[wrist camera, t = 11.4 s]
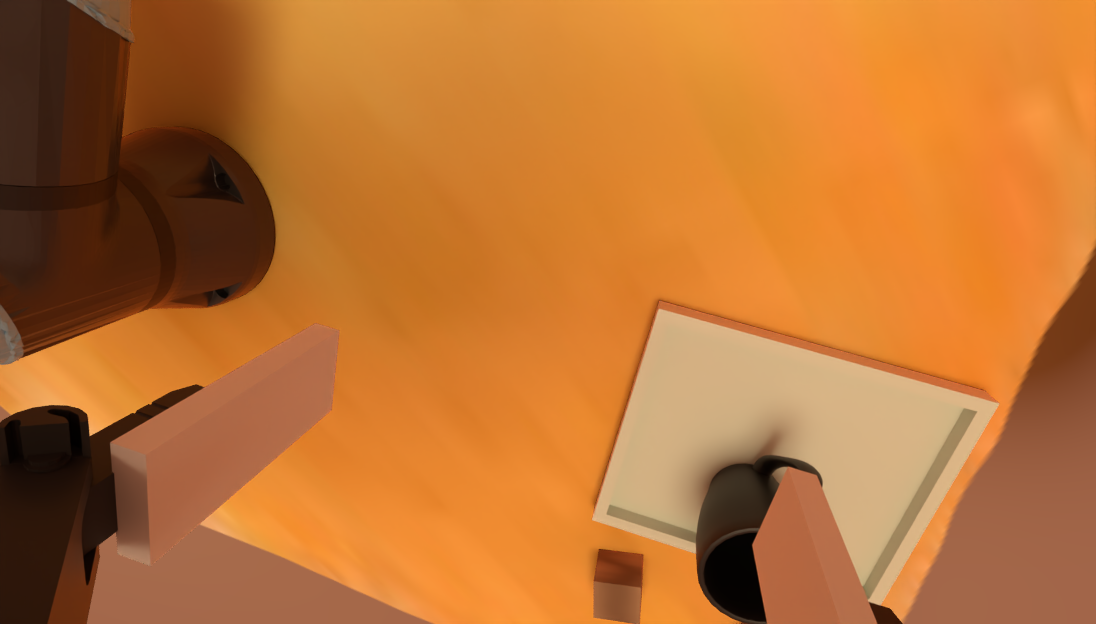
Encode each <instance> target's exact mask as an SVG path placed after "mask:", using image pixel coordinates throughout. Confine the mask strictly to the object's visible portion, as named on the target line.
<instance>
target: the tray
mask: <svg viewBox="0 0 1096 624" xmlns="http://www.w3.org/2000/svg"><path fill="white" fill-rule="evenodd" d="M998 405H999V403H998V402H997V401H996V400H995V399H994V398H993V397H991V396H990V395H989V394H988V393H987V392H986V391H984V390H980V389H977V388H973V387H970V386H966V385H962V384H959V383H955V382H952V381H948V380H944V379H941V378H937V377H934V376H930V375H926V374H923V373H919V372H916V371H912V370H908V369H905V368H901V367H898V366H894V365H890V364H887V363H883V362H880V361H876V360H872V359H869V358H865V357H862V356H858V355H854V354H851V353H847V352H844V351H840V350H836V349H833V348H829V347H826V346H822V345H818V344H815V343H811V342H807V341H804V340H800V339H797V338H793V337H789V336H786V335H782V334H779V333H775V332H771V331H768V330H764V329H761V328H757V327H753V326H750V325H746V324H743V323H739V322H735V321H732V320H728V319H725V318H721V317H717V316H714V315H710V314H707V313H703V312H699V311H696V310H692V309H689V308H685V307H681V306H678V305H674V304H671V303H667V302H663V301H660V300H659V303H658V306H657V309H656V312H655V316H654V319H653V322H652V325H651V328H650V331H649V335H648V338H647V341H646V344H645V347H644V351H643V354H642V357H641V360H640V363H639V366H638V370H637V373H636V376H635V379H634V382H633V386H632V389H631V392H630V395H629V398H628V401H627V405H626V408H625V411H624V414H623V417H622V421H621V424H620V427H619V430H618V433H617V436H616V440H615V443H614V446H613V449H612V452H611V456H610V459H609V462H608V465H607V468H606V471H605V475H604V478H603V481H602V484H601V487H600V491H599V494H598V497H597V500H596V503H595V507H594V512H593V517H592V520H594V521H597V522H600V523H603V524H606V525H609V526H612V527H615V528H618V529H622V530H625V531H628V532H631V533H634V534H637V535H640V536H643V537H646V538H649V539H652V540H655V541H658V542H661V543H664V544H668V545H671V546H674V547H677V548H680V549H683V550H686V551H689V552H692V553H695V554H696V533H697V526H698V519H699V515H700V510H701V507H702V504H703V501H704V499H705V496H706V494H707V492H708V490H709V486H710V483H711V481H712V479H713V477H714V476H715V475H716V474H717V473H718V472H719V471H720V470H722V469H723V468H725V467H728V466H730V465H734V464H743V463H745V464H752V465H754V463H755V462H756V461H757V460H758V459H759V458H760V457H762V456H765V455H777V456H783V457H789V458H794V459H798V460H801V461H804V462H806V463H808V464H810V465H812V466H813V467H814V468H815V469H816V470H817V471H818V472H819V473H820V475H821V477H822V480H823V486H822V489H823V492H824V494H825V497H826V499H827V501H828V504H829V506H830V509H831V511H832V514H833V516H834V519H835V521H836V524H837V526H838V528H839V531H840V533H841V536H842V538H843V541H844V543H845V546H846V548H847V551H848V553H849V555H850V558H851V560H852V563H853V565H854V568H855V570H856V573H857V575H858V577H859V580H860V582H861V585H862V587H863V590H864V592H865V595H866V597H867V600H868V602H871V603H874V604H877V605H881V604H882V602H883V600H884V599H885V597H886V595H887V594H888V592H889V590H890V589H891V587H892V585H893V583H894V582H895V580H896V578H897V577H898V575H899V573H900V572H901V570H902V568H903V567H904V565H905V563H906V561H907V560H908V558H909V556H910V555H911V553H912V551H913V550H914V548H915V546H916V544H917V543H918V541H919V539H920V538H921V536H922V534H923V533H924V531H925V529H926V528H927V526H928V524H929V522H930V521H931V519H932V517H933V516H934V514H935V512H936V511H937V509H938V507H939V505H940V504H941V502H942V500H943V499H944V497H945V495H946V494H947V492H948V490H949V489H950V487H951V485H952V483H953V482H954V480H955V478H956V477H957V475H958V473H959V472H960V470H961V468H962V466H963V465H964V463H965V461H966V460H967V458H968V456H969V455H970V453H971V451H972V450H973V448H974V446H975V444H976V443H977V441H978V439H979V438H980V436H981V434H982V433H983V431H984V429H985V427H986V426H987V424H988V422H989V421H990V419H991V417H992V416H993V414H994V412H995V411H996V409H997V407H998ZM787 468H788V467H781V468H779V469H777V470H776V471H775V472H774V473H773V474H772V475H773V476H774V478H775V479H776V481H777V482H778V483H779V484H780V483H781V481H782V479H783V476H784V474H785V472H786V470H787Z"/></svg>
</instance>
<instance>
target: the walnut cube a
mask: <svg viewBox="0 0 1096 624" xmlns="http://www.w3.org/2000/svg"><path fill="white" fill-rule="evenodd" d="M642 573H643V555H642V554H634V553H627V552H619V551H611V550H603V549H599V553H598V559H597V565H596V571H595V577H594V618H600V619H607V620H613V621H620V622H627V623H633V624H640V611H641V595H642Z"/></svg>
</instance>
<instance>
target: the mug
mask: <svg viewBox="0 0 1096 624" xmlns="http://www.w3.org/2000/svg"><path fill="white" fill-rule="evenodd" d="M781 467H791V468H794V469H798V470H801V471H804V472H808V473H811V474H814V475H817V477H818V479H819V482H820V484H821V487H822V486H823V480H822V477H821V475H820V473H819V472H818V471H817V470H816V469H815V468H814V467H813V466H812V465H810V464H808V463H806V462H804V461H801V460H798V459H794V458H789V457H783V456H777V455H765V456H762V457H760V458H759V459H758V460H757V461H756V462H755V463H754V465H752V464H745V463H743V464H734V465H730V466H728V467H725V468H723V469H722V470H720V471H719V472H718V473H717V474H716V475H715V476H714V477H713V479H712V481H711V483H710V486H709V490H708V492H707V494H706V496H705V499H704V501H703V504H702V507H701V510H700V515H699V519H698V526H697V533H696V560H697V574H698V581H699V584H700V586H701V589H702V591H703V593H704V595H705V596H706V597H707V599H708V600H709V601H710V603H711V604H712V605H713V606H714V607H716V608H717V609H718V610H719V611H720V612H722V613H723V614H725V615H727V616H729V617H730V618H732V619H735V620H738V621H740V622H743V623H747V624H767V620H766V615H765V609H764V604H763V599H762V594H761V588H760V583H759V578H758V573H757V567H756V562H755V557H754V552H753V546H752V544H753V542H754V540H755V538H756V536H757V533H758V531H759V529H760V527H761V525H762V522H763V520H764V518H765V516H766V514H767V512H768V509H769V507H770V505H771V503H772V501H773V498H774V496H775V494H776V492H777V490H778V487H779V485H780V484H779V483H778V482H777V481H776V479H775V478H774V476H773V475H772V474H773V473H774V472H775V471H776V470H777V469H779V468H781Z"/></svg>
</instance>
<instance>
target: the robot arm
mask: <svg viewBox="0 0 1096 624" xmlns="http://www.w3.org/2000/svg"><path fill="white" fill-rule="evenodd" d="M134 39H135V38H134V34H133V32H132V31H131V0H0V364H1V365H4V364H10V363H12V362H14V361H16V360H19V359H20V358H23V357H25V356H28V355H30V354H33V353H36V352H38V351H41V350H43V349H46V348H48V347H51V346H54V345H56V344H59V343H61V342H64V341H67V340H69V339H72V338H74V337H77V336H79V335H82V334H85V333H87V332H90V331H92V330H95V329H98V328H100V327H103V326H105V325H108V324H110V323H113V322H116V321H118V320H121V319H123V318H126V317H129V316H131V315H133V314H136V313H139V312H142V311H144V310H147V309H158V308H207V307H213V306H217V305H221V304H224V303H226V302H228V301H231V300H233V299H236V298H238V297H240V296H243V295H244V294H246V293H248V292H249V291H251V290H252V289H253V288H254V287H255V286H256V285H257V284H258V283H259V282H260V281H261V280H262V278H263V277H264V275H265V274H266V272H267V270H268V267H269V265H270V262H271V259H272V255H273V250H274V240H275V233H274V222H273V217H272V212H271V208H270V205H269V202H268V199H267V197H266V194H265V192H264V190H263V188H262V186H261V184H260V182H259V180H258V179H257V177H256V176H255V174H254V173H253V171H252V170H251V168H250V167H249V166H248V165H247V163H246V162H245V161H244V160H243V159H242V158H241V157H240V156H239V155H238V154H237V153H236V152H235V151H234V150H233V149H232V148H230V147H229V146H228V145H226V144H225V143H223V142H222V141H220V140H219V139H217V138H215V137H214V136H211V135H209V134H207V133H205V132H202V131H199V130H196V129H191V128H185V127H159V128H148V129H144V130H140V131H137V132H134V133H131V134H129V135H127V136H125V137H123V138H122V128H123V118H124V107H125V97H126V86H127V76H128V66H129V55H130V45H131V43H134ZM338 339H339V330H336V329H333V328H330V327H326V326H323V325H320V324H317V323H315V324H313V325H312V326H310V327H308V328H306V329H305V330H303V331H301V332H300V333H298V334H296V335H294V336H293V337H291V338H289V339H287V340H286V341H284V342H282V343H281V344H279V345H277V346H275V347H274V348H272V349H270V350H269V351H267V352H265V353H263V354H262V355H260V356H258V357H256V358H255V359H253V360H251V361H250V362H248V363H246V364H244V365H243V366H241V367H239V368H237V369H236V370H234V371H232V372H231V373H229V374H227V375H225V376H224V377H222V378H220V379H219V380H217V381H215V382H213V383H212V384H210V385H208V386H206V387H202V386H199V385H193V386H189V387H186V388H182V389H179V390H175V391H172V392H170V393H168V394H166V395H164V396H162V397H161V398H159V399H157V400H155V401H153V402H152V404H151V405H149V404H148V405H146V406H144V407H142V408H141V409H139V410H137V411H136V413H135V414H134V413H132V414H130V415H128V416H126V417H124V418H122V419H121V420H119V421H117V422H115V423H113V424H112V425H110V426H108V427H106V428H104V429H102V430H101V431H99V432H97V433H95V434H93V435H92V436H90V437H89V425H88V417H87V414H86V413H85V412H83V411H82V410H81V409H79V408H75V407H70V406H60V405H49V406H42V407H35V408H31V409H27V410H24V411H21V412H17V413H15V414H13V415H11V416H9V417H8V418H6V419H4V420H2V421H1V422H0V624H87V618H88V613H89V609H90V603H91V598H92V594H93V588H94V583H95V578H96V573H97V568H98V563H99V558H100V555H99V544H101V543H102V542H103V541H104V540H106V539H107V538H109V537H110V536H111V535H113V534H114V533H115V532H116V536H117V550H118V554H119V555H122V556H124V557H127V558H130V559H133V560H135V561H138V562H141V563H143V564H146V565H149V566H151V565H153V564H154V563H155V562H156V561H157V560H158V559H160V558H161V557H162V556H163V555H164V554H165V553H166V552H168V551H169V550H170V549H171V548H172V547H173V546H175V545H176V544H177V543H178V542H179V541H180V540H182V539H183V538H184V537H185V536H186V535H187V534H189V533H190V532H191V531H192V530H193V529H194V528H195V527H197V526H198V525H199V524H200V523H201V522H202V521H204V520H205V519H206V518H207V517H208V516H209V515H211V514H212V513H213V512H214V511H215V510H216V509H217V508H219V507H220V506H221V505H222V504H223V503H224V502H226V501H227V500H228V499H229V498H230V497H231V496H233V495H234V494H235V493H236V492H237V491H238V490H239V489H241V488H242V487H243V486H244V485H245V484H246V483H248V482H249V481H250V480H251V479H252V478H253V477H255V476H256V475H257V474H258V473H259V472H260V471H261V470H263V469H264V468H265V467H266V466H267V465H268V464H270V463H271V462H272V461H273V460H274V459H275V458H277V457H278V456H279V455H280V454H281V453H282V452H283V451H285V450H286V449H287V448H288V447H289V446H290V445H292V444H293V443H294V442H295V441H296V440H297V439H299V438H300V437H301V436H302V435H303V434H304V433H305V432H307V431H308V430H309V429H310V428H311V427H312V426H314V425H315V424H316V423H317V422H318V421H319V420H321V419H322V418H323V417H324V416H325V415H326V414H327V413H329V412H330V411H331V410H332V401H333V390H334V380H335V370H336V359H337V349H338ZM752 546H753V552H754V557H755V562H756V567H757V573H758V578H759V583H760V588H761V594H762V599H763V604H764V609H765V615H766V620H767V624H902V622H901V621H900V620H899V619H898V618H897V616H896V615H895V614H894V613H893V611H892V610H891V609H890V608H887V607H884V606H881V605H877V604H874V603H871V602H868V600H867V597H866V595H865V592H864V590H863V587H862V585H861V582H860V580H859V577H858V575H857V573H856V570H855V568H854V565H853V563H852V560H851V558H850V555H849V553H848V551H847V548H846V546H845V543H844V541H843V538H842V536H841V533H840V531H839V528H838V526H837V524H836V521H835V519H834V516H833V514H832V511H831V509H830V506H829V504H828V501H827V499H826V497H825V494H824V492H823V489H822V487H821V484H820V482H819V479H818V477H817V475H814V474H811V473H808V472H804V471H801V470H798V469H794V468H791V467H788V468H787V470H786V472H785V474H784V476H783V479H782V481H781V483H780V485H779V487H778V490H777V492H776V494H775V496H774V498H773V501H772V503H771V505H770V507H769V509H768V512H767V514H766V516H765V518H764V520H763V522H762V525H761V527H760V529H759V531H758V533H757V536H756V538H755V540H754V542H753V544H752Z"/></svg>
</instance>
